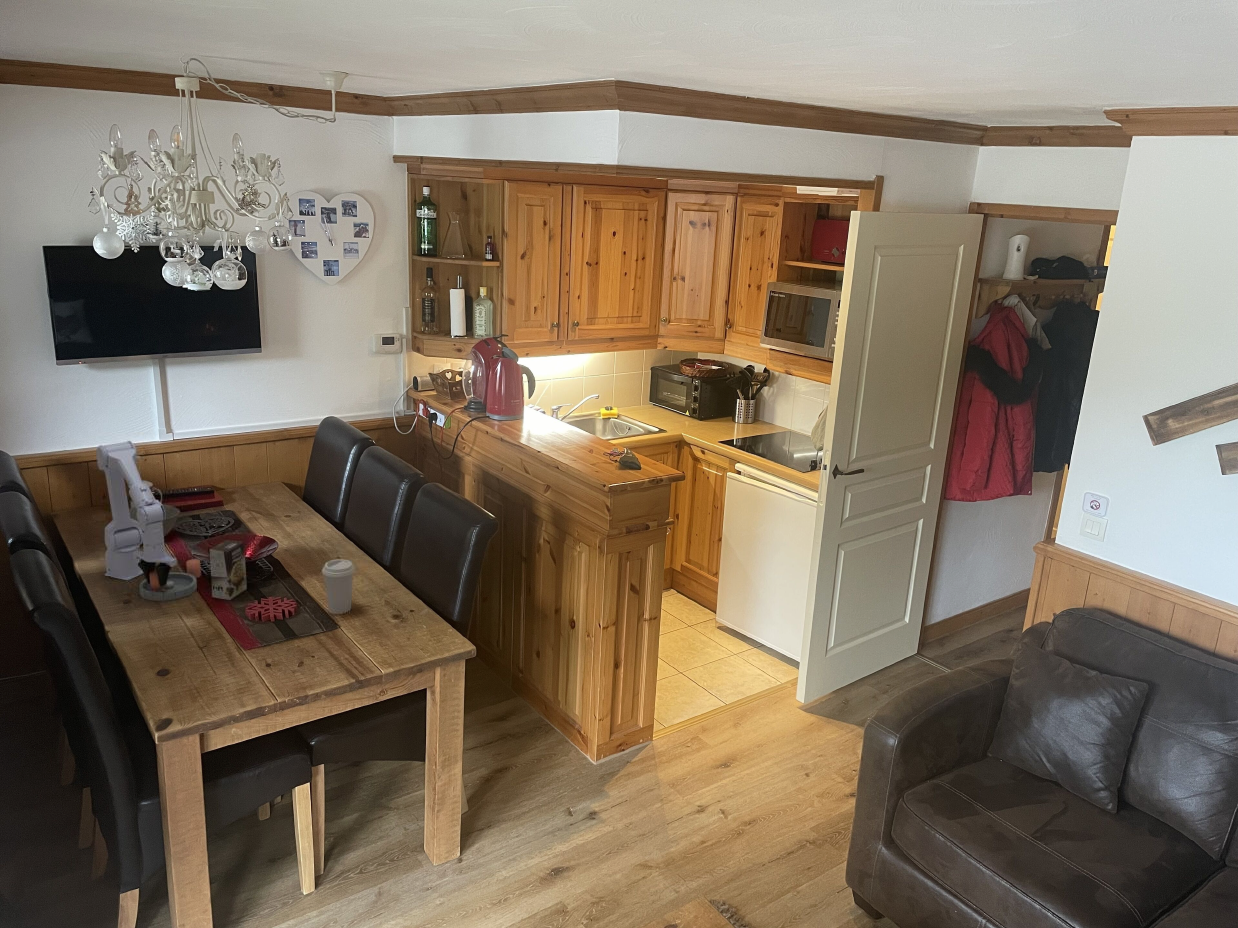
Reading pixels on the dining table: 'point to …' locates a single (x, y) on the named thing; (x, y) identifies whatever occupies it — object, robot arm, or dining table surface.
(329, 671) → the dining table surface
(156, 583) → the bead
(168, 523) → the bowl
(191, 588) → the round tray
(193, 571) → the bead
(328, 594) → the coffee cup
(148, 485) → the french press
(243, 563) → the coffee box
